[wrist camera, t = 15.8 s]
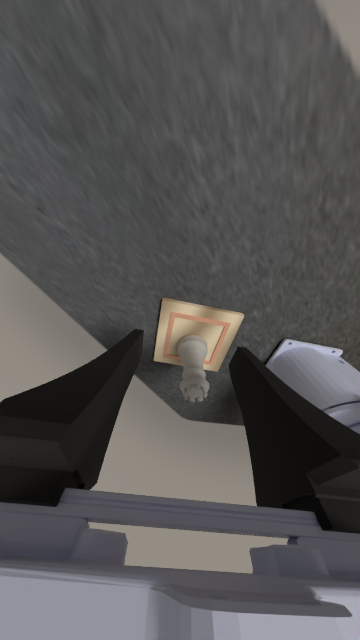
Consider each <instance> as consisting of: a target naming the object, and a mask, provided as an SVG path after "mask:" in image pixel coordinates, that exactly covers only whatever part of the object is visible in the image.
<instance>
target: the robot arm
mask: <svg viewBox="0 0 360 640" xmlns="http://www.w3.org/2000/svg"><path fill="white" fill-rule="evenodd" d="M143 332H144V330H138V329H135V330H133V331H132V332H131V333H130V334H128V335H127V336H126V337H125V338H124V339H122V340H121V341H120V342H119V343H117V344H116V345H115V346H113V347H112V348H111V349H109V350H108V351H106V352H105V353H103V354H102V355H100V356H99V357H97V358H96V359H94V360H92V361H91V362H89V363H87V364H85V365H83V366H82V367H79V368H78V369H76V370H74V371H72V372H70V373H68V374H66V375H63V376H61V377H59V378H57V379H55V380H52V381H50V382H48V383H46V384H43V385H40V386H38V387H35V388H33V389H30V390H28V391H25V392H22V393H20V394H17V395H15V396H11V397H9V398H6V399H4V400H3V401H1V402H0V640H360V372H359V371H357V370H356V369H355V368H354V367H352V366H351V365H350V364H348V363H347V362H346V361H345V360H343V359H342V358H341V357H339V356H340V355H341V354H342V353H343V351H342V350H341V349H337V348H332V347H327V346H321V345H316V344H311V343H306V342H300V341H295V340H290V339H284V340H283V341H282V342H281V344H280V345H279V347H278V348H277V350H276V351H275V352H274V354H273V355H272V357H271V358H270V359H269V361H268V362H267V364H266V365H264V364H263V363H262V362H261V361H260V360H259V359H258V358H257V357H256V356H255V355H254V354H252V353H251V352H250V351H249V350H248V349H247V348H244V347H238V348H237V350H236V352H235V354H234V356H233V358H232V360H231V362H230V364H229V370H230V376H231V380H232V383H233V386H234V390H235V393H236V396H237V399H238V402H239V405H240V408H241V412H242V416H243V420H244V425H245V429H246V435H247V440H248V445H249V451H250V457H251V464H252V470H253V477H254V486H255V494H256V503H257V506H248V505H237V504H227V503H216V502H206V501H195V500H186V499H175V498H164V497H155V496H144V495H134V494H123V493H113V492H103V491H92V490H90V489H91V488H92V487H93V486H94V485H95V484H96V483H97V480H98V477H99V473H100V470H101V467H102V463H103V460H104V457H105V453H106V450H107V447H108V444H109V441H110V437H111V434H112V431H113V428H114V425H115V422H116V419H117V416H118V412H119V409H120V406H121V404H122V401H123V398H124V395H125V393H126V391H127V388H128V386H129V384H130V382H131V379H132V377H133V375H134V373H135V370H136V368H137V366H138V363H139V360H140V357H141V353H142V346H143ZM88 522H97V523H109V524H120V525H132V526H144V527H156V528H169V529H180V530H193V531H205V532H217V533H229V534H242V535H254V536H265V537H277V538H289V539H288V542H287V545H271V546H268V547H260V548H250V556H251V561H252V565H253V573H252V574H248V573H233V572H218V571H203V570H187V569H172V568H157V567H139V566H126V565H124V561H125V554H126V549H127V544H128V541H127V539H126V535H125V533H119V532H113V531H106V530H100V529H89V524H88Z"/></svg>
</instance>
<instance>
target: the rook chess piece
mask: <svg viewBox="0 0 360 640" xmlns="http://www.w3.org/2000/svg"><path fill="white" fill-rule="evenodd" d="M177 347H178V354H179V357H180V358H181V360H182V361H183V366H184V371H183V373H182V377H183V379H184V380H183V381H182V382H181V383H180V389H181V391H182V392H183V395H184V398H185V399H186V400H187V399H188V397H190V402H195V398H198V401H199V402H200V401H203V398H206V397H207V391H208V390H209V387H210V386H209V383H208V382H207V380H206V379H205V377H206V373H205V371H204V370H203V364H204V360H205V358H206V356H207V353H208V350H207V342H206V341H205V340H204V339H203V338H202V337H200V336H197V335H188V336H185V337H184V338H182V339H181V340H180V341H179V342H178V346H177Z"/></svg>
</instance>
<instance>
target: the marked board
mask: <svg viewBox="0 0 360 640" xmlns="http://www.w3.org/2000/svg"><path fill="white" fill-rule="evenodd" d="M243 318H244V315H243V314H242V313H238V312H233V311H228V310H223V309H218V308H213V307H208V306H203V305H198V304H193V303H188V302H183V301H178V300H173V299H168V298H163V299H162V306H161V312H160V319H159V326H158V333H157V340H156V347H155V354H154V361H158V362H164V363H170V364H175V365H181V366H183V361H182V360H181V358H180V357H179V354H178V347H177V346H178V342H179V341H180V340H181V339H182V338H184V337H185V336H188V335H197V336H200V337H202V338H203V339H204V340H205V341H206V342H207V350H208V353H207V356H206V358H205V360H204V364H203V369H205V370H211V371H217V372H218V370H219V368H220V366H221V363H222V361H223V359H224V357H225V355H226V353H227V351H228V349H229V347H230V345H231V343H232V341H233V339H234V337H235V335H236V332H237V330H238V328H239V326H240V324H241V322H242V320H243Z"/></svg>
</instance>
